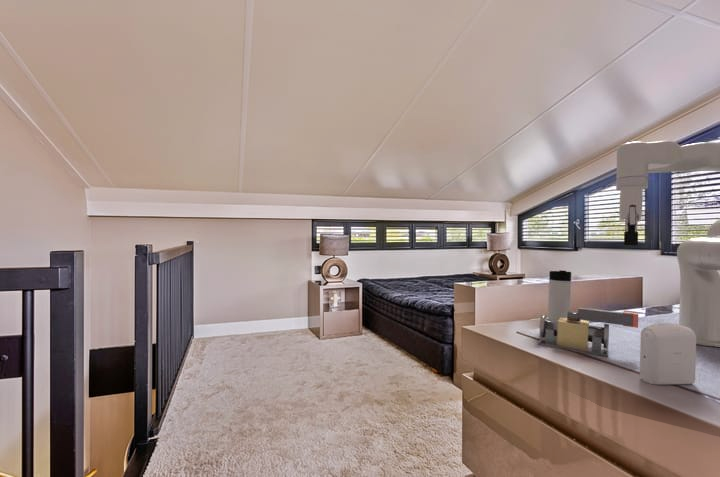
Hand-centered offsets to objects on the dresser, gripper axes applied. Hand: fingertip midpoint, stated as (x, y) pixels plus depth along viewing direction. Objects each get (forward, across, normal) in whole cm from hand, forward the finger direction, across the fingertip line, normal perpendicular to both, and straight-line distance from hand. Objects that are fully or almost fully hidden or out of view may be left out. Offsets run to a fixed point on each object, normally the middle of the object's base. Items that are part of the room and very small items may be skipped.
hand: (630, 245), depth 105 cm
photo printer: (+29, +35, +4) cm, 45 cm away
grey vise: (+28, +19, -14) cm, 37 cm away
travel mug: (+29, +3, -18) cm, 34 cm away
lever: (+21, +19, -7) cm, 29 cm away
